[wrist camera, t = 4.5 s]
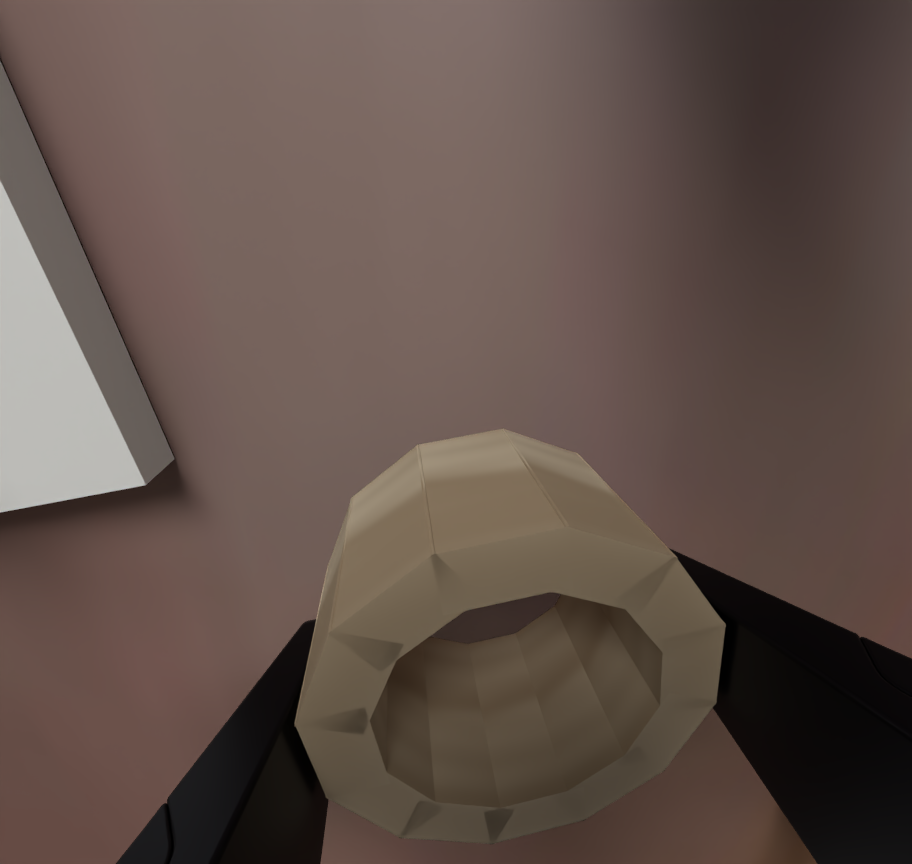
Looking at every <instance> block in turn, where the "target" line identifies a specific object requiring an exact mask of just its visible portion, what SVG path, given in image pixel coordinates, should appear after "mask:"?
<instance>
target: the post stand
mask: <svg viewBox="0 0 912 864" xmlns="http://www.w3.org/2000/svg"><path fill="white" fill-rule="evenodd" d="M174 459H175V458H174V456H173V454H172V452H171V449H170V447H169V445H168V442H167V440H166V438H165V436H164V433H163V431H162V429H161V427H160V424H159V422H158V420H157V417H156V415H155V413H154V411H153V408H152V406H151V404H150V401H149V399H148V397H147V395H146V392H145V390H144V388H143V385H142V383H141V381H140V379H139V376H138V374H137V372H136V369H135V367H134V365H133V363H132V360H131V358H130V356H129V353H128V351H127V349H126V347H125V344H124V342H123V340H122V337H121V335H120V333H119V331H118V328H117V326H116V324H115V321H114V319H113V317H112V315H111V312H110V310H109V308H108V305H107V303H106V301H105V299H104V296H103V294H102V292H101V289H100V287H99V285H98V283H97V280H96V278H95V276H94V273H93V271H92V269H91V267H90V264H89V262H88V260H87V257H86V255H85V253H84V251H83V248H82V246H81V244H80V241H79V239H78V237H77V235H76V232H75V230H74V228H73V225H72V223H71V221H70V219H69V216H68V214H67V212H66V209H65V207H64V205H63V203H62V200H61V198H60V196H59V193H58V191H57V189H56V187H55V184H54V182H53V180H52V177H51V175H50V173H49V171H48V168H47V166H46V164H45V161H44V159H43V157H42V155H41V152H40V150H39V148H38V145H37V143H36V141H35V139H34V136H33V134H32V132H31V129H30V127H29V125H28V123H27V120H26V118H25V116H24V114H23V111H22V109H21V107H20V104H19V102H18V100H17V98H16V95H15V93H14V91H13V88H12V86H11V84H10V82H9V79H8V77H7V75H6V72H5V70H4V68H3V66H2V63H1V61H0V513H1V512H6V511H11V510H17V509H22V508H27V507H32V506H38V505H43V504H48V503H54V502H59V501H64V500H70V499H75V498H80V497H86V496H91V495H96V494H102V493H107V492H112V491H118V490H123V489H128V488H134V487H139V486H144V485H147V484H148V483H149V482H150V481H151V480H152V479H153V478H154V477H155V476H157V475H158V474H159V473H160V472H161V471H162V470H163V469H164V468H165V467H166V466H168V465H169V464H170V463H171V462H172V461H173V460H174Z"/></svg>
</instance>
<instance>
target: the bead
mask: <svg viewBox="0 0 912 864" xmlns="http://www.w3.org/2000/svg"><path fill="white" fill-rule="evenodd" d="M677 558H678V557H677V556H676V555H675V554H674V553H673V552H672V551H671V550H670V549H669V548H668V547H667V546H666V545H665V544H664V543H663V542H662V541H661V540H660V539H659V538H658V537H657V536H656V535H655V534H654V532H653V531H652V530H651V529H650V528H649V527H648V526H647V525H646V524H645V523H644V522H643V521H642V520H641V519H640V518H639V517H638V516H637V515H636V514H635V513H634V512H633V511H632V510H631V508H630V507H629V506H628V505H627V504H626V503H625V502H624V501H623V500H622V499H621V498H620V497H619V496H618V495H617V494H616V493H615V492H614V491H613V490H612V489H611V488H610V487H609V486H608V485H607V483H606V482H605V481H604V480H603V479H602V478H601V477H600V476H599V475H598V474H597V473H596V472H595V471H594V470H593V469H592V468H591V467H590V466H589V465H588V464H587V463H586V462H585V461H584V459H583V458H582V457H581V456H580V455H579V454H577V453H574V452H571V451H568V450H565V449H562V448H559V447H556V446H553V445H550V444H547V443H544V442H541V441H538V440H535V439H532V438H529V437H526V436H523V435H520V434H517V433H514V432H511V431H508V430H505V429H499V430H494V431H488V432H483V433H478V434H472V435H467V436H462V437H457V438H451V439H446V440H441V441H436V442H430V443H425V444H420V445H419V444H418V445H416V447H414V448H413V449H412V450H411V451H409V452H408V453H407V454H406V455H404V456H403V457H402V458H401V459H399V460H398V461H397V462H396V463H394V464H393V465H392V466H391V467H389V468H388V469H387V470H386V471H384V472H383V473H382V474H381V475H379V476H378V477H377V478H376V479H374V480H373V481H372V482H371V483H369V484H368V485H367V486H366V487H364V488H363V489H362V490H361V491H359V492H358V493H357V494H356V495H354V496H352V498H351V501H350V505H349V508H348V510H347V513H346V516H345V519H344V522H343V525H342V527H341V530H340V533H339V536H338V539H337V542H336V545H335V547H334V550H333V553H332V556H331V559H330V562H329V564H328V566H327V571H326V576H325V580H324V585H323V590H322V595H321V599H320V604H319V609H318V614H317V618H316V623H315V628H314V633H313V637H312V642H311V647H310V652H309V656H308V661H307V666H306V671H305V675H304V680H303V685H302V690H301V694H300V699H299V704H298V709H297V714H296V718H295V723H294V724H295V726H296V728H297V731H298V733H299V735H300V737H301V740H302V742H303V744H304V747H305V749H306V751H307V754H308V756H309V758H310V761H311V763H312V765H313V768H314V770H315V772H316V774H317V777H318V779H319V781H320V784H321V786H322V788H323V791H324V793H325V795H326V796H325V797H326V798H327V799H329V800H331V801H333V802H335V803H337V804H339V805H341V806H342V807H344V808H346V809H348V810H350V811H352V812H353V813H355V814H357V815H359V816H361V817H363V818H364V819H366V820H368V821H370V822H372V823H374V824H376V825H377V826H379V827H381V828H383V829H385V830H387V831H388V832H390V833H392V834H394V835H396V836H398V837H399V838H401V839H402V838H409V839H424V840H439V841H455V842H470V843H485V844H494V843H498V842H501V841H505V840H509V839H513V838H517V837H521V836H525V835H529V834H532V833H536V832H540V831H544V830H548V829H552V828H556V827H560V826H563V825H567V824H571V823H575V822H579V821H584V820H586V819H587V818H588V817H590V816H592V815H593V814H595V813H597V812H598V811H600V810H601V809H603V808H605V807H606V806H608V805H610V804H611V803H613V802H614V801H616V800H618V799H619V798H621V797H623V796H624V795H626V794H627V793H629V792H631V791H632V790H634V789H636V788H637V787H639V786H640V785H642V784H644V783H645V782H647V781H649V780H650V779H652V778H653V777H655V776H657V775H658V774H660V773H661V772H663V771H665V769H666V767H667V766H668V765H669V764H670V762H671V761H672V760H673V758H674V757H675V756H676V754H677V753H678V752H679V751H680V749H681V748H682V747H683V745H684V744H685V743H686V741H687V740H688V739H689V738H690V736H691V735H692V734H693V732H694V731H695V730H696V728H697V727H698V726H699V725H700V723H701V722H702V721H703V719H704V718H705V717H706V716H707V714H708V713H709V712H710V710H711V709H712V708H713V706H714V705H715V704H716V703H717V701H716V700H717V692H718V683H719V675H720V667H721V659H722V651H723V642H724V634H725V627H726V624H725V623H724V622H723V620H722V619H721V618H720V617H719V616H718V614H717V613H716V612H715V610H714V609H713V607H712V606H711V605H710V603H709V602H708V601H707V599H706V598H705V596H704V595H703V594H702V592H701V591H700V589H699V588H698V587H697V585H696V584H695V583H694V581H693V580H692V578H691V577H690V576H689V574H688V573H687V572H686V570H685V569H684V567H683V566H682V565H681V563H680V562H679V561H678V559H677ZM549 592H555V593H559V594H561V595H560V597H559V599H558V601H557V602H556V604H555V606H554V607H552V608H551V609H549V610H548V611H547V612H545V613H544V614H542V615H541V616H539V617H538V618H537V619H535V620H534V621H532V622H531V623H529V624H528V625H527V626H525V627H524V628H522V629H521V630H520V631H518V632H517V633H515V634H510V635H506V636H501V637H497V638H492V639H488V640H483V641H479V642H475V643H470V644H466V643H460V642H455V641H450V640H445V639H439V638H434V637H429V636H431V635H432V634H434V633H435V632H436V631H438V630H439V629H441V628H442V627H443V626H445V625H446V624H447V623H449V622H450V621H452V620H453V619H454V618H456V617H457V616H459V615H460V614H461V613H463V612H464V611H467V610H471V609H476V608H480V607H485V606H490V605H494V604H499V603H503V602H508V601H512V600H517V599H522V598H526V597H531V596H535V595H540V594H545V593H549Z"/></svg>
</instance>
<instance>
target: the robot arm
mask: <svg viewBox="0 0 912 864" xmlns="http://www.w3.org/2000/svg"><path fill="white" fill-rule="evenodd" d="M670 550H671V551H672V552H673V553H674V554H675V555H676V556H677V557H678V558H677V559H678V561H679V562H680V563H681V565H682V566H683V567H684V569H685V570H686V572H687V573H688V574H689V576H690V577H691V578H692V580H693V581H694V583H695V584H696V585H697V587H698V588H699V589H700V591H701V592H702V594H703V595H704V596H705V598H706V599H707V601H708V602H709V603H710V605H711V606H712V607H713V609H714V610H715V612H716V613H717V614H718V616H719V617H720V618H721V619H722V620H723V622H724V623H725V624H726V627H725V634H724V642H723V651H722V659H721V667H720V675H719V683H718V692H717V700H716V701H717V703H716V704H715V705H714V706H713V709H714V710H715V712H716V713H717V715H718V716H719V718H720V719H721V721H722V722H723V724H724V725H725V727H726V728H727V730H728V731H729V733H730V734H731V735H732V737H733V738H734V740H735V741H736V743H737V744H738V746H739V747H740V749H741V750H742V752H743V753H744V755H745V756H746V758H747V759H748V761H749V762H750V764H751V765H752V767H753V768H754V770H755V771H756V773H757V774H758V776H759V777H760V779H761V780H762V782H763V783H764V785H765V786H766V788H767V789H768V791H769V792H770V794H771V795H772V797H773V798H774V800H775V801H776V803H777V804H778V806H779V807H780V809H781V810H782V812H783V813H784V814H785V816H786V817H787V819H788V820H789V822H790V823H791V825H792V826H793V828H794V829H795V831H796V832H797V834H798V835H799V837H800V838H801V840H802V841H803V843H804V844H805V846H806V847H807V849H808V850H809V852H810V853H811V855H812V856H813V858H814V859H815V861H816V862H817V864H912V658H909V657H907V656H905V655H902V654H900V653H898V652H896V651H893V650H891V649H889V648H887V647H884V646H882V645H880V644H878V643H876V642H873V641H871V640H869V639H867V638H865V637H860V638H859V636H858V635H857V634H856V633H853V632H851V631H849V630H847V629H845V628H843V627H840V626H838V625H836V624H834V623H832V622H829V621H827V620H825V619H823V618H821V617H818V616H816V615H814V614H812V613H810V612H807V611H805V610H803V609H801V608H799V607H797V606H794V605H792V604H790V603H788V602H786V601H783V600H781V599H779V598H777V597H775V596H772V595H770V594H768V593H766V592H764V591H761V590H759V589H757V588H755V587H753V586H751V585H748V584H746V583H744V582H742V581H740V580H737V579H735V578H733V577H731V576H729V575H726V574H724V573H722V572H720V571H718V570H715V569H713V568H711V567H709V566H707V565H705V564H702V563H700V562H698V561H696V560H694V559H691V558H689V557H687V556H685V555H683V554H680V553H678V552H676V551H674V550H672V549H670ZM315 623H316V619H314V620H310V621H306V622H304V623H303V624H302V625H301V627H300V628H299V629H298V631H297V632H296V633H295V634H294V636H293V637H292V638H291V640H290V641H289V642H288V643H287V645H286V646H285V647H284V649H283V650H282V651H281V652H280V654H279V655H278V656H277V658H276V659H275V660H274V661H273V663H272V664H271V665H270V667H269V668H268V669H267V671H266V672H265V673H264V674H263V676H262V677H261V678H260V680H259V681H258V682H257V683H256V685H255V686H254V687H253V689H252V690H251V691H250V692H249V694H248V695H247V696H246V698H245V699H244V700H243V702H242V703H241V704H240V705H239V707H238V708H237V709H236V711H235V712H234V713H233V714H232V716H231V717H230V718H229V720H228V721H227V722H226V723H225V725H224V726H223V727H222V729H221V730H220V731H219V733H218V734H217V735H216V736H215V738H214V739H213V740H212V742H211V743H210V744H209V745H208V747H207V748H206V749H205V751H204V752H203V753H202V754H201V756H200V757H199V758H198V760H197V761H196V762H195V763H194V765H193V766H192V767H191V769H190V770H189V771H188V773H187V774H186V775H185V776H184V778H183V779H182V780H181V782H180V783H179V784H178V785H177V787H176V788H175V789H174V791H173V792H172V793H171V794H170V796H169V797H168V799H167V803H165V804H163V805H162V806H161V807H160V808H159V810H158V811H157V812H156V814H155V815H154V816H153V817H152V819H151V820H150V821H149V823H148V824H147V825H146V826H145V828H144V829H143V830H142V832H141V833H140V834H139V835H138V837H137V838H136V839H135V840H134V842H133V843H132V844H131V845H130V847H129V848H128V849H127V850H126V852H125V853H124V854H123V855H122V857H121V858H120V859H119V860H118V862H117V863H116V864H320V862H321V855H322V847H323V839H324V831H325V823H326V816H327V808H328V800H329V799H327V798H326V797H325V796H326V795H325V793H324V791H323V788H322V786H321V784H320V781H319V779H318V777H317V774H316V772H315V770H314V768H313V765H312V763H311V761H310V758H309V756H308V754H307V751H306V749H305V747H304V744H303V742H302V740H301V737H300V735H299V733H298V731H297V728H296V726H295V724H294V723H295V718H296V714H297V709H298V704H299V699H300V694H301V690H302V685H303V680H304V675H305V671H306V666H307V661H308V656H309V652H310V647H311V642H312V637H313V633H314V628H315Z"/></svg>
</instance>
